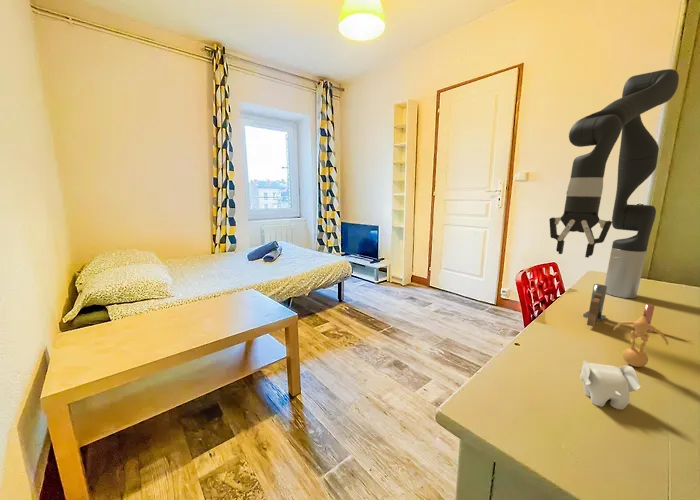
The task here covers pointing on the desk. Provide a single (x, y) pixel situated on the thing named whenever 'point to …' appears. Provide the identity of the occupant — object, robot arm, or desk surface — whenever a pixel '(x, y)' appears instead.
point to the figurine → (638, 355)
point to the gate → (594, 309)
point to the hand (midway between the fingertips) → (573, 255)
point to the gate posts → (602, 290)
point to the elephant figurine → (609, 384)
